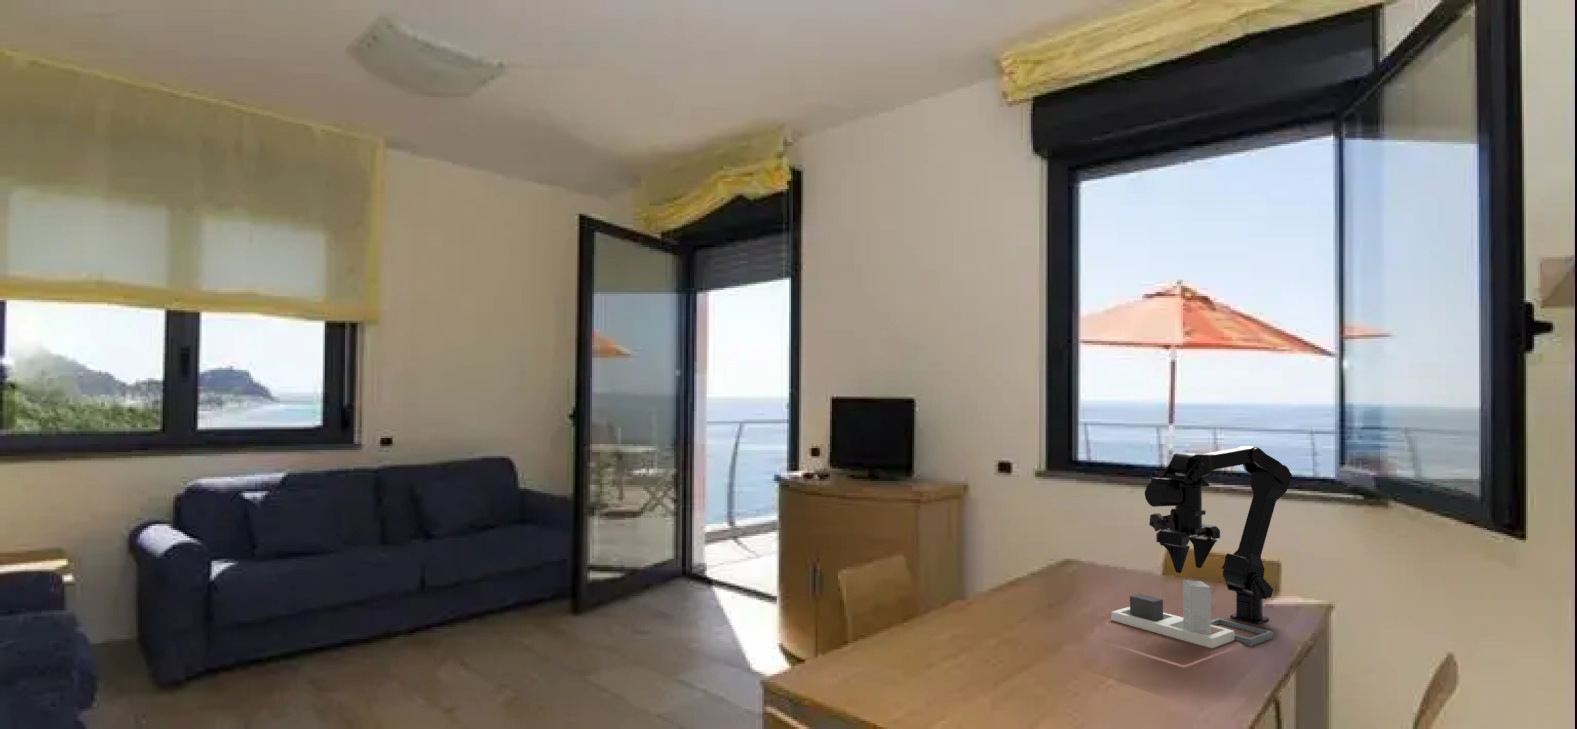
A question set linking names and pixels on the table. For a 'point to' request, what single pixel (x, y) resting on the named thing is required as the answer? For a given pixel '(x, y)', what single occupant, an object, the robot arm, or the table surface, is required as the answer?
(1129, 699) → the table surface
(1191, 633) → the divided desk organizer
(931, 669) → the table surface
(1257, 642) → the gray rectangular frame
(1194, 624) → the skincare box
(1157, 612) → the dark gray rectangular block
